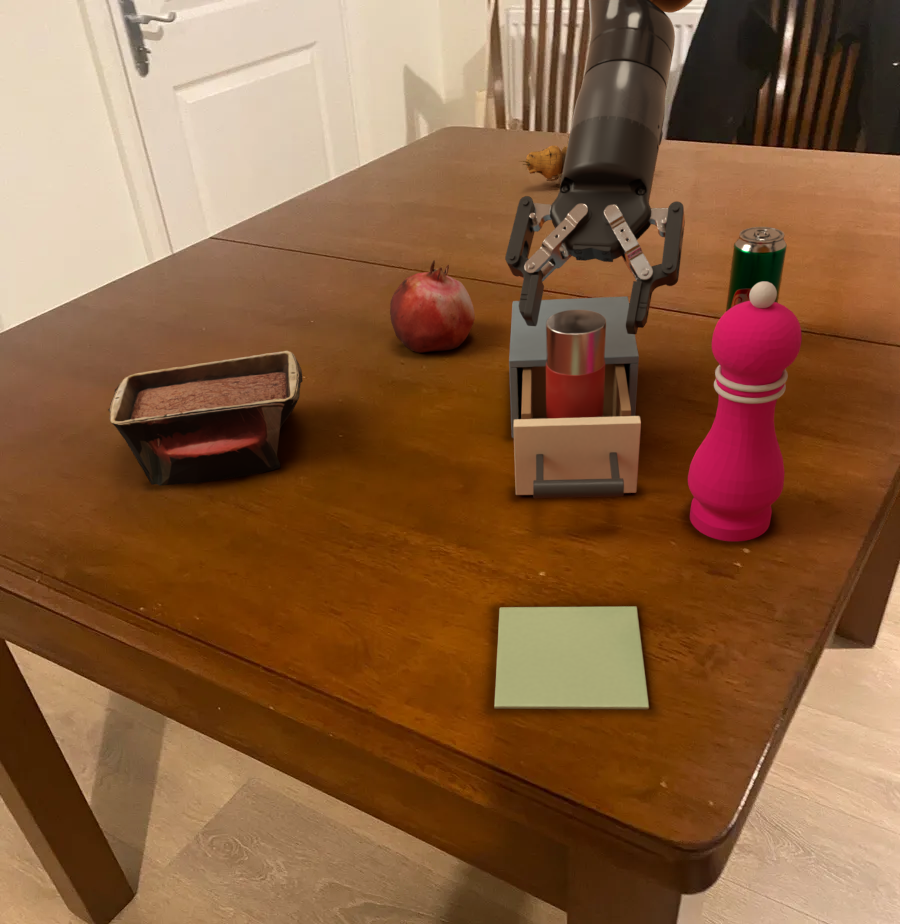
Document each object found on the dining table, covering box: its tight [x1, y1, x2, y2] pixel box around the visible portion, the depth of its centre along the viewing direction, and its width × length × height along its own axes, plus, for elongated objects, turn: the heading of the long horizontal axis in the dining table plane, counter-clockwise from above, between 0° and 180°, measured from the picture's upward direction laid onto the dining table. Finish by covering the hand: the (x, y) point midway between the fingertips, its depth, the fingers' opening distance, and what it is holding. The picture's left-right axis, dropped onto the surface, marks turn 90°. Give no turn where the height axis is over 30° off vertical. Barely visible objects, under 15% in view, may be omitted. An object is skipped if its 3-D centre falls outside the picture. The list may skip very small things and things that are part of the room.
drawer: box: [513, 364, 642, 499], centre depth 79 cm, size 18×10×7 cm, turn 176°
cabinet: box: [508, 295, 640, 439], centre depth 89 cm, size 13×11×8 cm
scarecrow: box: [519, 133, 570, 188], centre depth 144 cm, size 17×16×8 cm
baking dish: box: [107, 350, 303, 487], centre depth 87 cm, size 14×18×10 cm
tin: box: [546, 310, 606, 419], centre depth 78 cm, size 5×5×12 cm
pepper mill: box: [687, 281, 803, 542], centre depth 68 cm, size 7×7×20 cm
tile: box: [493, 605, 650, 710], centre depth 64 cm, size 10×10×1 cm
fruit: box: [389, 259, 476, 354], centre depth 101 cm, size 9×10×10 cm
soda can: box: [725, 226, 788, 312], centre depth 95 cm, size 5×5×12 cm
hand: (579, 326), depth 76 cm, fingers open, 8 cm apart
